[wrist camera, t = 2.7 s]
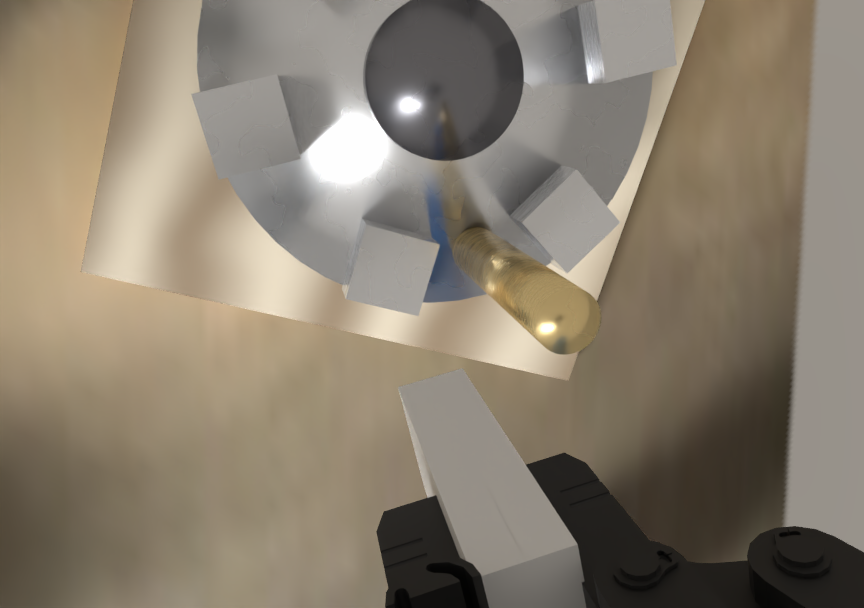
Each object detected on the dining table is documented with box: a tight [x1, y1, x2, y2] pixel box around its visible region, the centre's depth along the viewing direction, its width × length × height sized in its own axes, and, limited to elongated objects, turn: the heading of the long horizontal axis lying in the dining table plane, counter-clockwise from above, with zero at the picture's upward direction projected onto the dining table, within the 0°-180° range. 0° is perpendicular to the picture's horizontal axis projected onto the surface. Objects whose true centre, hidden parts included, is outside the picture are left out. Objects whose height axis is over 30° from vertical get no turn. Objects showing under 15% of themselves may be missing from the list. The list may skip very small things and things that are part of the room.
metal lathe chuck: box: [191, 0, 677, 355], centre depth 25 cm, size 18×18×14 cm
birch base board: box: [81, 0, 705, 381], centre depth 32 cm, size 24×24×2 cm
